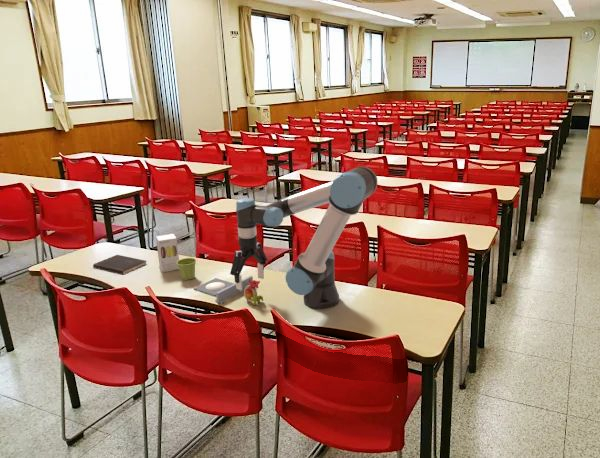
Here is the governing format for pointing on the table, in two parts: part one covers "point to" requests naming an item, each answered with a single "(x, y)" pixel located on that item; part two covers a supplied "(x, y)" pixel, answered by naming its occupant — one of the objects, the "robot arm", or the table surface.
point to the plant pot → (187, 268)
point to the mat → (213, 286)
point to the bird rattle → (252, 292)
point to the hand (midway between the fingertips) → (250, 283)
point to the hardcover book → (119, 264)
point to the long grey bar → (231, 290)
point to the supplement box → (167, 252)
